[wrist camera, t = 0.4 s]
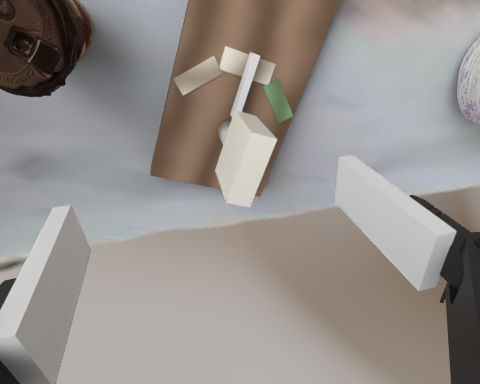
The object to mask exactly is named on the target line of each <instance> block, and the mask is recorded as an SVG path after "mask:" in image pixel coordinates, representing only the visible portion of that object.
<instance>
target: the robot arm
mask: <svg viewBox="0 0 480 384" xmlns="http://www.w3.org/2000/svg"><path fill="white" fill-rule="evenodd" d="M334 202H335V203H336V204H337V205H338V206H339V207H340V208H341V209H342V210H343V211H344V212H345V213H346V214H347V215H348V217H349V218H350V219H351V220H352V221H353V222H354V223H355V224H356V225H357V226H358V227H359V228H360V229H361V230H362V231H363V232H364V234H366V236H367V237H368V238H369V239H370V240H371V241H372V242H373V243H374V244H375V245H376V246H377V247H378V248H379V250H380V251H381V252H382V253H383V254H384V255H385V256H386V257H387V258H388V259H389V260H390V261H391V262H392V263H393V265H395V267H396V268H397V269H398V270H399V271H400V272H401V273H402V274H403V275H404V276H405V277H406V278H407V279H408V280H409V282H410V283H411V284H412V285H413V286H414V287H415V288H416V289H417V290H418V291H421V290H425V289H429V288H433V287H436V285H437V282H438V279H439V277H440V275H441V276H442V277H443V278H444V279H445V280H446V281H447V284H446V287H445V289H444V292H443V294H442V297H441V300H440V303H443V302H444V300H445V299H446V310H447V326H448V342H449V358H450V373H451V384H480V232H473V233H471V232H470V231H468V230H467V229H465V228H464V227H463V226H461V225H460V224H458V223H457V222H455V221H454V220H453V219H451V218H450V217H448V216H447V215H446V214H442V212H441V211H440V210H438V209H437V208H434V206H433V205H431V204H430V203H428V202H427V201H426V200H424V199H421V198H419V197H416V196H414V195H409V196H408V195H407V194H405V193H404V192H403V191H401V190H400V189H399V188H397V187H396V186H395V185H393V184H392V183H390V182H389V181H388V180H386V179H385V178H384V177H382V176H381V175H379V174H378V173H377V172H375V171H374V170H373V169H371V168H370V167H369V166H367V165H366V164H364V163H363V162H362V161H360V160H359V159H358V158H356V157H355V156H354V155H348V156H342V157H339V162H338V171H337V180H336V190H335V199H334ZM90 252H91V249H90V247H89V245H88V243H87V240H86V238H85V236H84V233H83V231H82V229H81V226H80V224H79V222H78V220H77V217H76V215H75V213H74V210H73V208H72V206H71V205H66V206H61V207H55V208H53V209H52V211H51V213H50V214H49V216H48V218H47V220H46V222H45V224H44V226H43V228H42V230H41V232H40V234H39V236H38V238H37V240H36V242H35V244H34V246H33V248H32V249H31V251H30V253H29V255H28V257H27V259H26V261H25V263H24V265H23V267H22V269H21V271H20V273H19V275H18V277H17V278H15V279H10V280H6V281H4V282H3V283H2V284H1V285H0V384H56V381H57V377H58V374H59V370H60V366H61V362H62V358H63V355H64V351H65V347H66V343H67V339H68V336H69V332H70V328H71V324H72V320H73V316H74V313H75V309H76V305H77V302H78V298H79V294H80V290H81V287H82V283H83V279H84V275H85V271H86V268H87V264H88V260H89V256H90Z"/></svg>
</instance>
